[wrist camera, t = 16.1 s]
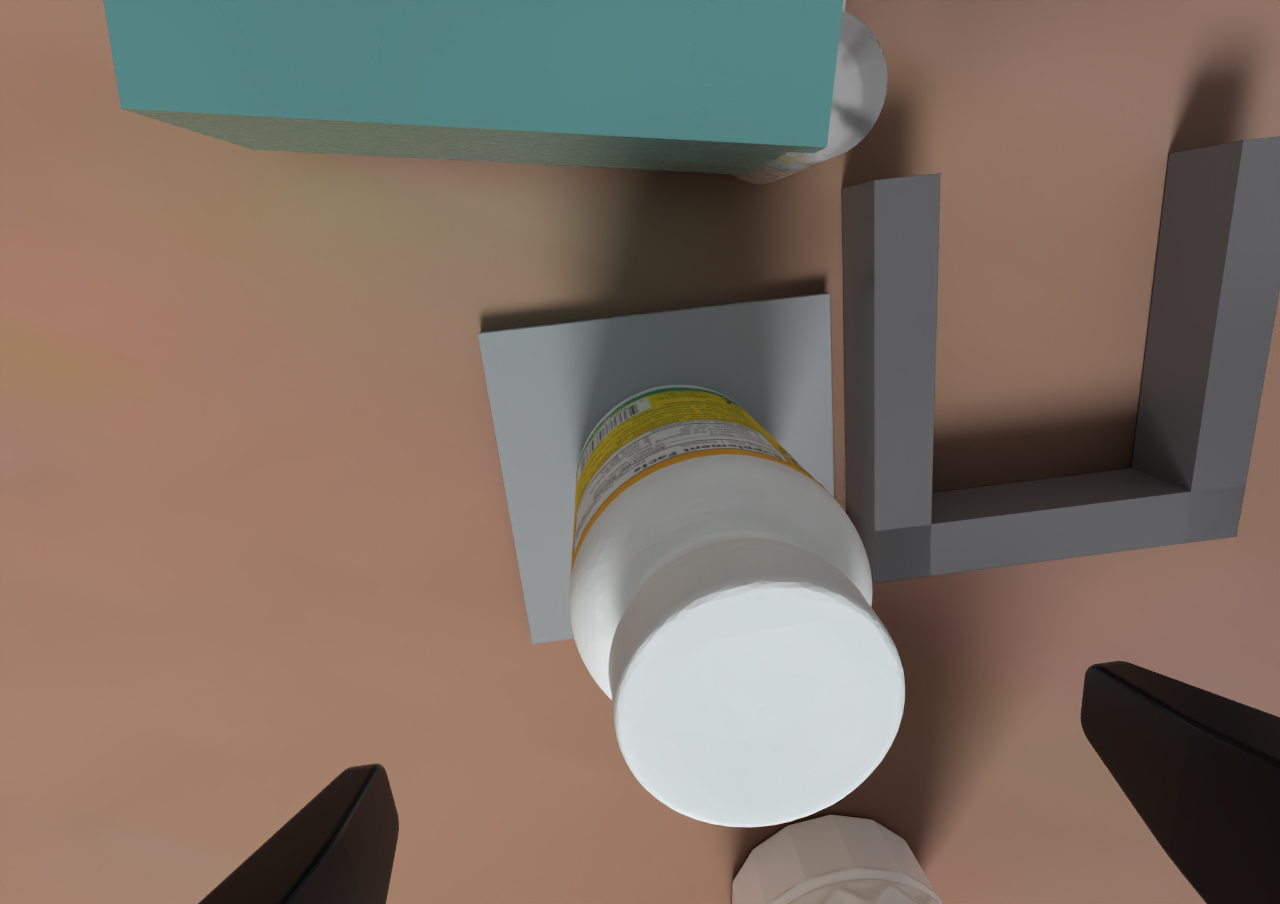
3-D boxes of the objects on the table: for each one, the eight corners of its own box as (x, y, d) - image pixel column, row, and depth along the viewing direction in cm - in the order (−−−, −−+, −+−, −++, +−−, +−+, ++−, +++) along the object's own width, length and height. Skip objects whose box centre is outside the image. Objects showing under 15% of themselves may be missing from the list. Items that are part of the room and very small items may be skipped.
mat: (824, 292, 17) (829, 293, 17) (831, 597, 20) (836, 604, 19) (480, 331, 17) (477, 333, 16) (533, 636, 20) (532, 643, 19)
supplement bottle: (577, 378, 17) (560, 522, 8) (780, 383, 17) (992, 523, 8) (576, 568, 18) (560, 875, 9) (763, 568, 19) (925, 861, 10)
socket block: (1225, 147, 17) (1306, 133, 15) (1174, 509, 20) (1236, 536, 18) (841, 188, 16) (874, 180, 15) (847, 550, 19) (874, 583, 17)
